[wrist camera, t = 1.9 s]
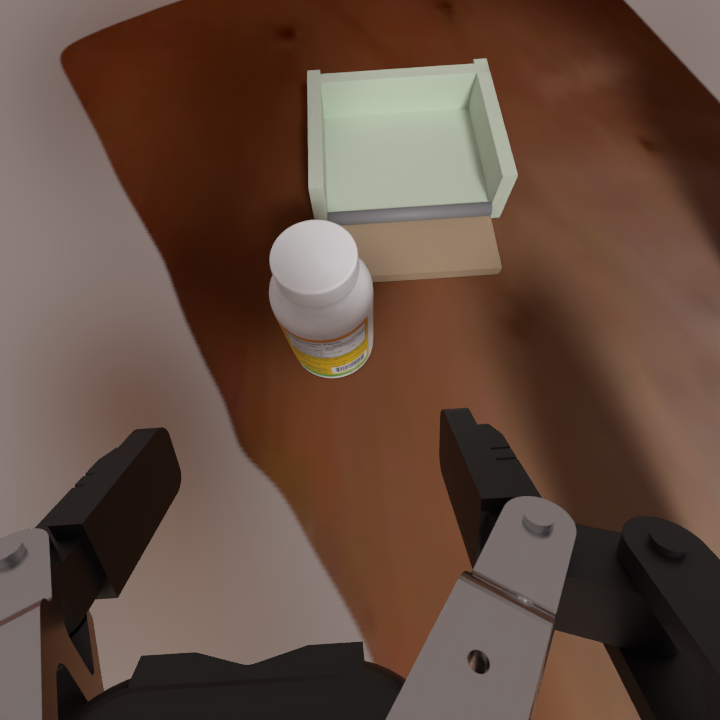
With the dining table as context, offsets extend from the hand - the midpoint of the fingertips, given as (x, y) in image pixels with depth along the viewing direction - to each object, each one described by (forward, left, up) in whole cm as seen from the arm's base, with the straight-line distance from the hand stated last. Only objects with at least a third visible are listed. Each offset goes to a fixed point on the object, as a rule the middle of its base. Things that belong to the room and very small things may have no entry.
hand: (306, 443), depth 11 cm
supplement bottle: (0, -9, -13) cm, 15 cm away
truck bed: (-6, -22, -12) cm, 26 cm away
